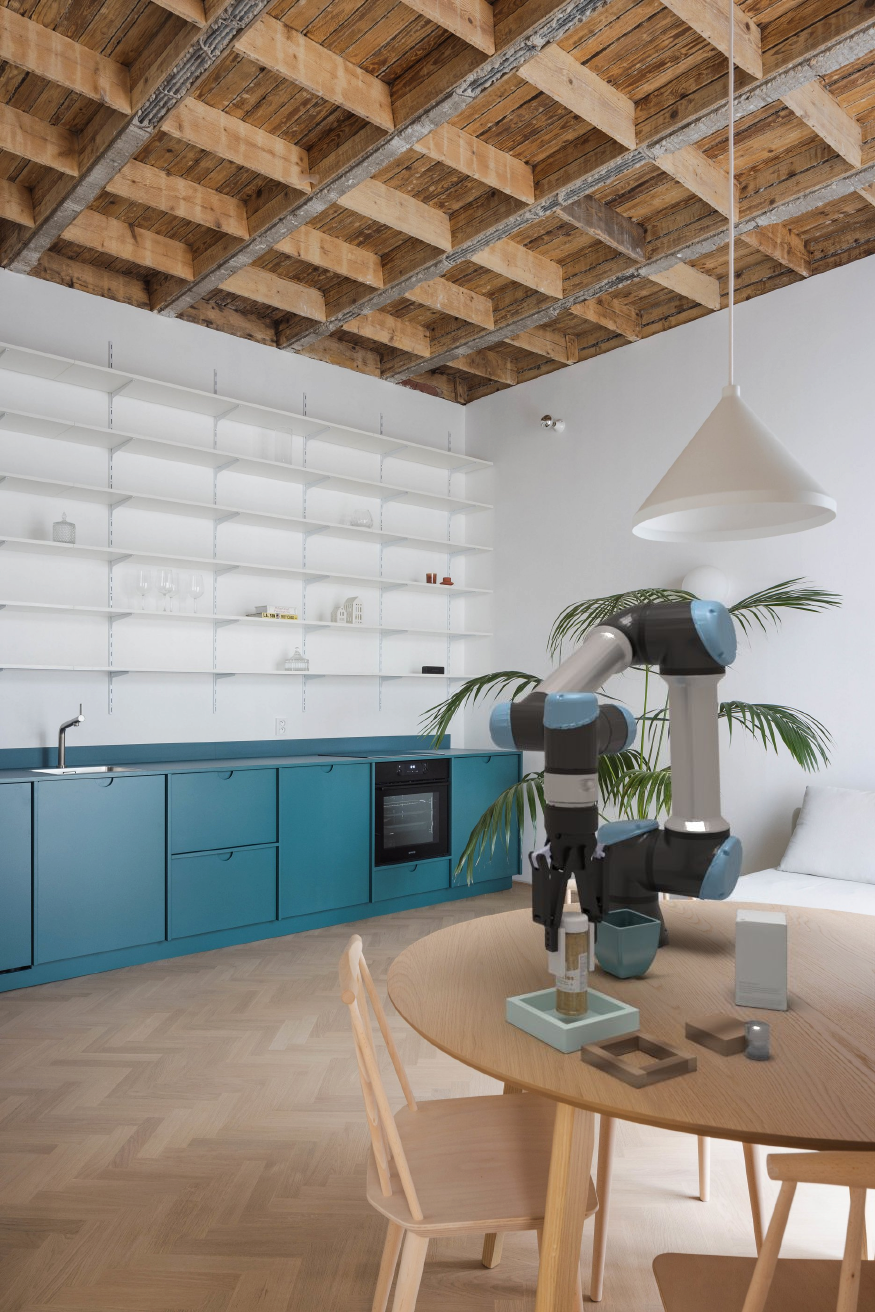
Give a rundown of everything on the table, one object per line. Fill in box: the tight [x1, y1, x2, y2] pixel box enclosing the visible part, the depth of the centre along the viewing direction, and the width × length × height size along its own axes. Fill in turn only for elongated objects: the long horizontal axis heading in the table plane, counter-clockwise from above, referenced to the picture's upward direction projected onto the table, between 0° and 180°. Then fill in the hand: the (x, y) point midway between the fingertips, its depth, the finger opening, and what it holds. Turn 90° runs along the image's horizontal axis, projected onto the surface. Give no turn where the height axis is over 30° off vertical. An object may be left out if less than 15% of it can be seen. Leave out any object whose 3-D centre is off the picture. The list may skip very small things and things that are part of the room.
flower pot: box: [594, 909, 661, 979], centre depth 148 cm, size 9×9×9 cm
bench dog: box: [744, 1019, 771, 1062], centre depth 116 cm, size 3×3×4 cm
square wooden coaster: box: [684, 1011, 746, 1058], centre depth 121 cm, size 7×7×2 cm
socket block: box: [580, 1029, 698, 1089], centre depth 113 cm, size 10×10×2 cm
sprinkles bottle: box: [555, 911, 588, 1017], centre depth 126 cm, size 5×5×14 cm
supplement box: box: [734, 909, 788, 1012], centre depth 136 cm, size 7×7×13 cm
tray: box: [505, 986, 640, 1055], centre depth 126 cm, size 13×13×3 cm
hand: (571, 970), depth 126 cm, fingers closed on sprinkles bottle, 4 cm apart
